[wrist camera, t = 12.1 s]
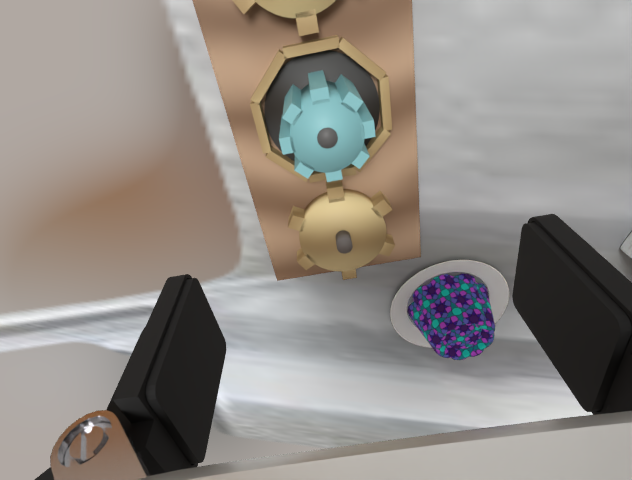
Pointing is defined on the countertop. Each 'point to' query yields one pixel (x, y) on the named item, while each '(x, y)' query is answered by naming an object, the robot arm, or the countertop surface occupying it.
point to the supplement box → (627, 246)
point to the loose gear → (325, 126)
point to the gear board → (278, 170)
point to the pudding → (451, 308)
